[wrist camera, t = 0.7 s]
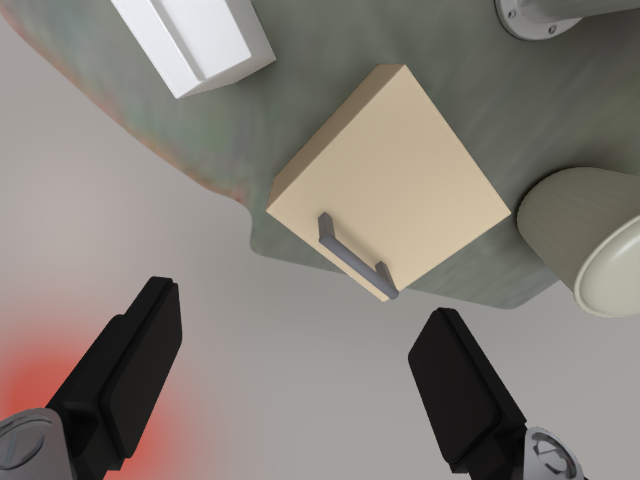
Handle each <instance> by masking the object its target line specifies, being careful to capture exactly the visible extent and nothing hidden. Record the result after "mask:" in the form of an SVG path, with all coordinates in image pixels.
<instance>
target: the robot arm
mask: <svg viewBox="0 0 640 480" xmlns="http://www.w3.org/2000/svg"><path fill="white" fill-rule="evenodd" d="M495 3H496V8H497V12H498V16H499V18H500V20H501V23H502V24H503V26H504V27H505V28H506V30H507V31H508V32H509V33H511V34H512V35H513V36H515V37H517V38H520V39H522V40H530V41H535V40H544V39H548V38H552V37H554V36H557V35H559V34H561V33H563V32H565V31H566V30H568V29H569V28H571V27H572V26H574V25H575V24H576V23H578V22H579V21H580V20H581V19H582V18H583V17H587V16H593V15H599V14H605V13H611V12H617V11H623V10H629V9H635V8H640V0H495ZM508 14H509V17H508ZM181 342H182V325H181V314H180V302H179V291H178V284H177V283H173V280H172V279H171V278H164V277H155V276H153V277H151V278H150V279H149V281H148V282H147V283H146V285H145V286H144V288H143V289H142V290H141V292H140V293H139V294H138V296H137V297H136V299H135V300H134V301H133V303H132V304H131V306H130V307H129V308H128V310H127V311H126V313H125V314H124V315H122V314H119V315H116V316H114V317H113V318H112V319H111V320H110V321H109V323H108V324H107V325H106V327H105V328H104V330H103V331H102V332H101V333H100V335H99V336H98V337H97V339H96V340H95V341H94V343H93V344H92V346H91V347H90V348H89V349H88V351H87V352H86V353H85V355H84V356H83V357H82V359H81V360H80V361H79V363H78V364H77V365H76V367H75V368H74V369H73V371H72V372H71V373H70V375H69V376H68V377H67V379H66V380H65V381H64V383H63V384H62V386H61V387H60V388H59V389H58V391H57V392H56V393H55V395H54V396H53V397H52V399H51V400H50V401H49V403H48V404H47V405H46V407H45V408H34V409H27V410H25V411H22V412H19V413H16V414H13V415H12V416H10V417H8V418H6V419H4V420H2V421H1V422H0V480H103V478H104V476H105V474H106V472H107V470H116V471H118V470H120V469H121V466H122V464H123V462H124V460H125V458H131V457H132V455H133V454H134V452H135V450H136V448H137V445H138V443H139V441H140V438H141V436H142V434H143V431H144V429H145V427H146V424H147V422H148V420H149V417H150V415H151V413H152V410H153V408H154V406H155V403H156V401H157V399H158V397H159V394H160V392H161V390H162V387H163V385H164V383H165V380H166V378H167V376H168V373H169V371H170V369H171V366H172V364H173V362H174V359H175V357H176V355H177V352H178V350H179V348H180V345H181ZM408 361H409V365H410V368H411V371H412V373H413V376H414V379H415V382H416V385H417V387H418V390H419V393H420V395H421V398H422V401H423V404H424V407H425V409H426V412H427V415H428V417H429V420H430V423H431V426H432V429H433V431H434V434H435V437H436V440H437V442H438V445H439V448H440V451H441V453H442V456H443V458H444V460H445V461H446V462H447V463H449V466H450V469H451V471H452V473H468V472H469V475H470V477H471V479H472V480H588V479H587V478H585V477H584V475H583V471H582V468H581V466H580V464H579V462H578V460H577V458H576V456H575V455H574V454H573V452H572V451H571V450H570V449H569V447H568V446H566V444H564V442H563V441H561V440H560V439H559V438H558V437H557V436H555V435H554V434H552V433H551V432H549V431H547V430H545V429H543V428H539V427H530V428H529V429H527V427H526V426H525V424H524V423H526V422H527V420H526V418H525V417H524V415H523V414H522V412H521V411H520V409H519V407H518V406H517V404H516V403H515V401H514V400H513V398H512V396H511V395H510V393H509V392H508V390H507V389H506V387H505V385H504V384H503V382H502V381H501V379H500V378H499V376H498V375H497V373H496V371H495V370H494V368H493V367H492V365H491V364H490V362H489V360H488V359H487V358H486V356H485V354H484V352H483V351H482V349H481V348H480V346H479V345H478V343H477V342H476V340H475V338H474V337H473V335H472V334H471V332H470V331H469V329H468V327H467V326H466V324H465V323H464V321H463V320H462V318H461V316H460V315H459V313H458V312H457V311H456V310H455V309H451V308H441V307H439V308H437V310H436V311H433V312H432V314H431V316H430V318H429V319H428V321H427V323H426V324H425V326H424V328H423V330H422V331H421V333H420V335H419V337H418V338H417V340H416V342H415V343H414V345H413V347H412V349H411V350H410V352H409V354H408Z"/></svg>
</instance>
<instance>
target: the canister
mask: <svg viewBox="0 0 640 480" xmlns="http://www.w3.org/2000/svg"><path fill="white" fill-rule="evenodd" d="M517 216H518V217H517V226H518V229H519V232H520V234H521V235H522V237H523V239H524V240H525V241H526V242H527V244H528V245H529V246H530V247H531V248H532V249H533V250H534V252H535V253H536V254H537V255H538V256H539V257H540V258H541V259H542V260H543V261H544V263H545V264H546V265H547V266H548V267H549V268H550V269H551V270H552V271H553V272H554V273H555V274H556V275H557V276H558V277H559V279H560V280H561V281H562V282H563V283H564V284H565V285H566V286H567V287H568V288H569V289H570V290H571V291H572V292H573V296H574V299H575V301H576V303H577V304H578V306H579V307H580V308H581V309H583V310H584V311H585V312H587V313H589V314H592V315H595V316H600V317H625V316H632V315H640V176H635V175H630V174H625V173H620V172H615V171H610V170H605V169H599V168H593V167H576V168H569V169H566V170H562V171H559V172H557V173H554V174H552V175H551V176H549V177H546V178H545V179H544V180H542V181H540V182H539V183H538V184H537V185H536V186H534V187H533V189H532V190H531V191H529V193H528V194H527V195H526V196H525V198H524V200H523V201H522V202H521V206H520V207H519V211H518V213H517Z"/></svg>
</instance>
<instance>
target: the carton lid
mask: <svg viewBox="0 0 640 480" xmlns="http://www.w3.org/2000/svg"><path fill="white" fill-rule="evenodd" d="M266 211H267V212H268V213H269V214H271V215H272V216H273V217H274V218H276V219H277V220H278V221H280V222H281V223H282V224H283V225H285V226H286V227H287V228H289V229H290V230H291V231H293V232H294V233H295V234H296V235H298V236H299V237H300V238H302V239H303V240H304V241H305V242H307V243H308V244H309V245H311V246H312V247H313V248H314V249H316V250H317V251H318V252H320V253H321V254H322V255H324V256H325V257H326V258H327V259H329V260H330V261H331V262H333V263H334V264H335V265H336V266H338V267H339V268H340V269H342V270H343V271H344V272H346V273H347V274H348V275H349V276H351V277H352V278H353V279H355V280H356V281H357V282H358V283H360V284H361V285H362V286H364V287H365V288H366V289H367V290H369V291H370V292H371V293H373V294H374V295H375V296H377V297H378V298H379V299H380V300H382V301H383V302H385V301H386V300H388V299H389V298H390V299H395V298H397V297H398V295H399V291H401V290H402V289H403V288H405V287H406V286H408V285H409V284H411V283H412V282H414V281H415V280H416V279H418V278H419V277H421V276H422V275H424V274H425V273H426V272H428V271H429V270H431V269H432V268H434V267H435V266H437V265H438V264H439V263H441V262H442V261H444V260H445V259H447V258H448V257H449V256H451V255H452V254H454V253H455V252H457V251H458V250H460V249H461V248H462V247H464V246H465V245H467V244H468V243H470V242H471V241H473V240H474V239H475V238H477V237H478V236H480V235H481V234H483V233H484V232H485V231H487V230H488V229H490V228H491V227H493V226H494V225H496V224H497V223H498V222H500V221H501V220H503V219H504V218H506V217H507V216H508V215H510V214H511V212H510V211H509V209H508V208H507V206H506V205H505V204H504V202H503V201H502V199H501V198H500V197H499V195H498V194H497V192H496V191H495V190H494V188H493V187H492V185H491V184H490V183H489V181H488V180H487V178H486V177H485V176H484V174H483V173H482V171H481V170H480V169H479V167H478V166H477V164H476V163H475V162H474V160H473V159H472V157H471V156H470V155H469V153H468V152H467V150H466V149H465V148H464V146H463V145H462V143H461V142H460V141H459V139H458V138H457V136H456V135H455V134H454V132H453V131H452V129H451V128H450V127H449V125H448V124H447V122H446V121H445V120H444V118H443V117H442V115H441V114H440V113H439V111H438V110H437V108H436V107H435V106H434V104H433V103H432V101H431V100H430V99H429V97H428V96H427V94H426V93H425V92H424V90H423V89H422V87H421V86H420V85H419V83H418V82H417V80H416V79H415V78H414V76H413V75H412V73H411V72H410V71H409V69H408V68H407V66H406V65H405V64H403V65H402V66H401V67H400V68H399V69H398V70H397V71H396V72H395V73H394V74H393V75H392V76H391V77H390V78H389V79H388V80H387V81H386V82H385V83H384V85H383V86H382V87H381V88H380V89H379V90H378V91H377V92H376V93H375V94H374V95H373V96H372V97H371V98H370V99H369V100H368V101H367V102H366V104H365V105H364V106H363V107H362V108H361V109H360V110H359V111H358V112H357V113H356V114H355V115H354V116H353V117H352V118H351V119H350V120H349V121H348V122H347V124H346V125H345V126H344V127H343V128H342V129H341V130H340V131H339V132H338V133H337V134H336V135H335V136H334V137H333V138H332V139H331V140H330V141H329V142H328V144H327V145H326V146H325V147H324V148H323V149H322V150H321V151H320V152H319V153H318V154H317V155H316V156H315V157H314V158H313V159H312V160H311V161H310V162H309V164H308V165H307V166H306V167H305V168H304V169H303V170H302V171H301V172H300V173H299V174H298V175H297V176H296V177H295V178H294V179H293V180H292V181H291V182H290V184H289V185H288V186H287V187H286V188H285V189H284V190H283V191H282V192H281V193H280V194H279V195H278V196H277V197H276V198H275V199H274V200H273V201H272V202H271V204H270V205H269V206H268V207H267V208H266Z"/></svg>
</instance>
